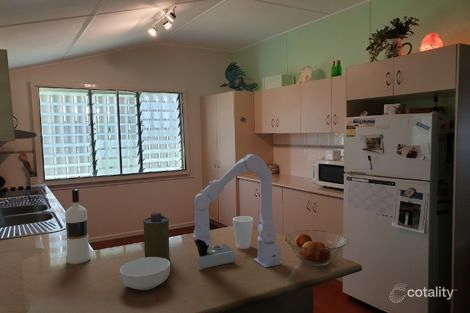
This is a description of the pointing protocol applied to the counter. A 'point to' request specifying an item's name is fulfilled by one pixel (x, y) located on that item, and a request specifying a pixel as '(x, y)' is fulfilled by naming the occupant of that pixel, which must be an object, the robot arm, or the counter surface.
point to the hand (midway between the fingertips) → (202, 257)
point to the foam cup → (243, 231)
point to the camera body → (218, 249)
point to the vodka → (77, 232)
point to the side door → (215, 259)
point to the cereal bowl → (145, 272)
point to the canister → (156, 236)
